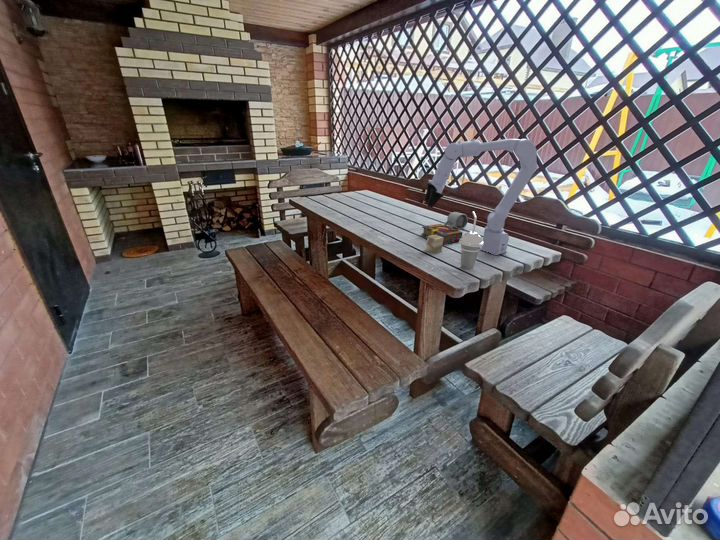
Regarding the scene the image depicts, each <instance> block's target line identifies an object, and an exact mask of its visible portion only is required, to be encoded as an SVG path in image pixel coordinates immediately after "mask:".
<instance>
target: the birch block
mask: <svg viewBox="0 0 720 540" xmlns="http://www.w3.org/2000/svg"><path fill="white" fill-rule="evenodd" d="M426 238H427V240H426V249H425V250H426V251H428V252H430V253H432V254H437V253H440V252H442V251H443V246H444V244H443V237H440V236H438V235H432V236H428V237H426Z"/></svg>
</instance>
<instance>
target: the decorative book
mask: <svg viewBox="0 0 720 540" xmlns="http://www.w3.org/2000/svg"><path fill="white" fill-rule="evenodd" d="M448 226H449V225H448V224H447V225H444V224H442V223H438V224H432V225H430V224H428V225H423V226H422V227H421V228H423V231H422V233H421V235H422V236H423V237H426V238H428V236H432V235H438V236H440V237H443V245H445V246H447V244H448V245H449V244H451V243H454V242H455V243H456V242H459V240H460V238H462V237H463V232H462V231H461V230H459V229H457V228H450V227H448Z"/></svg>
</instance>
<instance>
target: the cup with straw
mask: <svg viewBox="0 0 720 540" xmlns="http://www.w3.org/2000/svg"><path fill="white" fill-rule="evenodd" d="M471 213H472V216H473V218H474V221H473V225H472V226H473V227H472V231H471V230H470V231H466V232H465V233H464V234H462V238H460V240H459V241H458V243H459V244H460V268H461V269H462V270H464V271H472V270H471V269H473V270H474V267H475V265H476V261H477V258H478V255H479V253H480V251H481V250H480V248H481V246H483V245H484V244H483V243H484V242H483V237H482V236H481V234H480V233H478V232H476V230H475V229H476V225H477V215H476V213H475V211H472V212H471Z"/></svg>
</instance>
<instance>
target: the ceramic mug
mask: <svg viewBox="0 0 720 540" xmlns="http://www.w3.org/2000/svg"><path fill="white" fill-rule="evenodd" d="M468 221H469V219H468V216H467V214H466V213H461V212H459V211H453V212H450V213H449V214H448V216H447V221H445V222H444V223H443V225H447V226H448V227H450V228H452V229H457V230H463V229H464V228H466V227H467V225H468Z"/></svg>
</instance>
